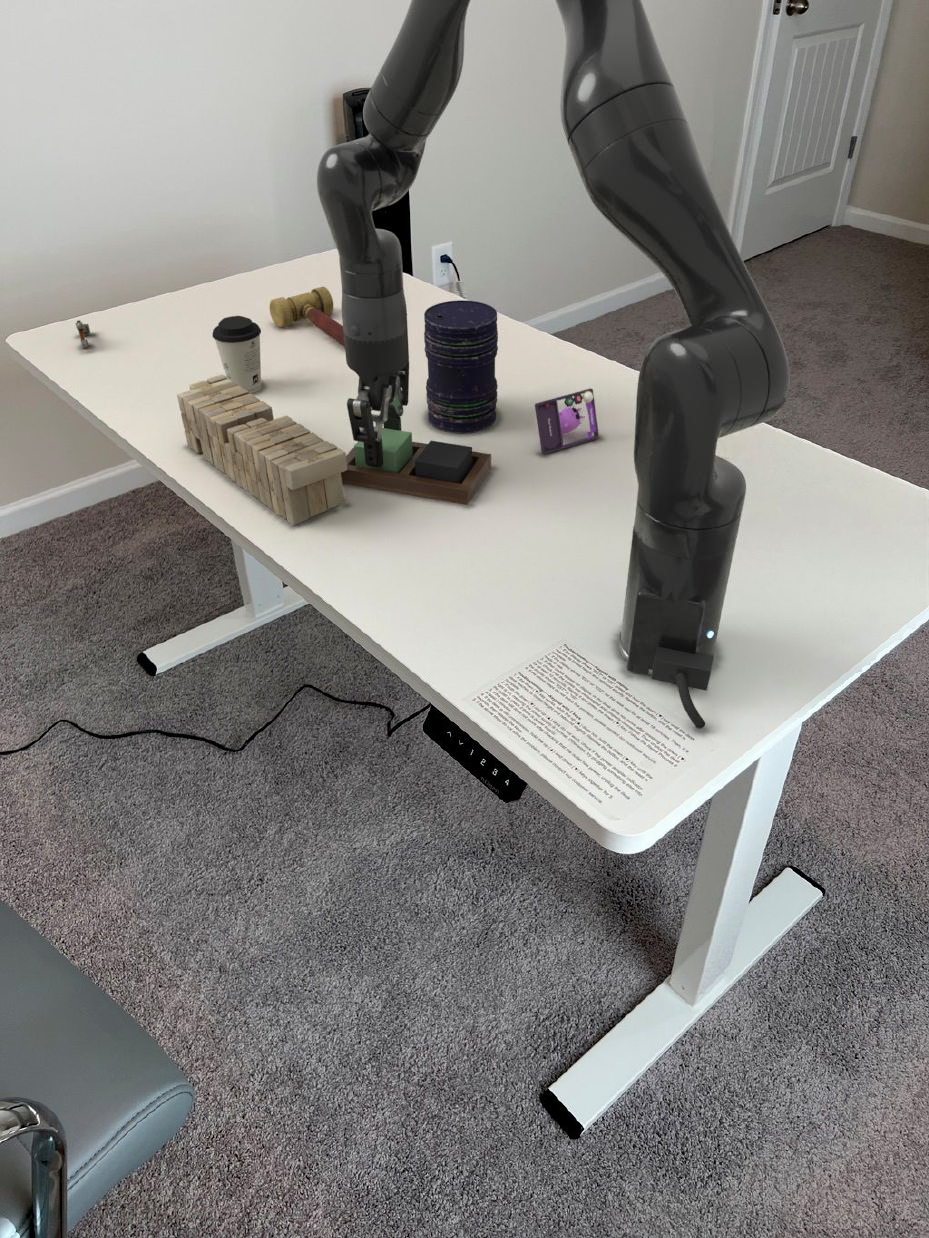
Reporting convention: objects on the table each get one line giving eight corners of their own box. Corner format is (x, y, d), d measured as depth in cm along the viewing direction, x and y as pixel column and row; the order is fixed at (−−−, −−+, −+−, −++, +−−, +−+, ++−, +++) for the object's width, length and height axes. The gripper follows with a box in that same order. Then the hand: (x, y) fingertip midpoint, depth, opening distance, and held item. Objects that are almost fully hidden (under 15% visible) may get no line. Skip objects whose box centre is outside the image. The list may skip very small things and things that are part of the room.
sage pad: (396, 475, 121) (395, 452, 119) (355, 468, 122) (353, 445, 120) (412, 454, 125) (411, 432, 123) (373, 447, 126) (371, 425, 124)
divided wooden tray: (467, 505, 118) (467, 490, 116) (336, 482, 122) (335, 467, 121) (491, 468, 124) (491, 454, 123) (366, 447, 129) (365, 433, 128)
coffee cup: (273, 393, 142) (264, 327, 136) (226, 401, 140) (215, 335, 134) (263, 374, 147) (254, 310, 141) (218, 382, 145) (206, 318, 139)
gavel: (387, 327, 153) (333, 343, 148) (388, 354, 156) (335, 370, 151) (319, 282, 165) (267, 295, 160) (321, 308, 168) (270, 321, 163)
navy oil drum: (484, 397, 141) (484, 296, 131) (507, 427, 133) (509, 322, 124) (418, 407, 138) (414, 305, 129) (438, 438, 131) (435, 332, 122)
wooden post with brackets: (78, 350, 153) (71, 320, 152) (83, 351, 161) (76, 323, 159) (90, 348, 154) (83, 319, 152) (94, 350, 161) (87, 322, 160)
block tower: (183, 448, 131) (297, 532, 113) (170, 390, 126) (287, 468, 108) (234, 430, 135) (352, 508, 117) (223, 373, 130) (345, 446, 112)
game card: (539, 404, 124) (596, 388, 127) (518, 402, 128) (573, 386, 132) (546, 455, 126) (602, 438, 130) (526, 451, 131) (580, 435, 134)
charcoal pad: (457, 490, 119) (457, 468, 117) (415, 483, 121) (414, 461, 119) (472, 469, 123) (472, 446, 121) (431, 462, 125) (430, 440, 123)
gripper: (380, 354, 106) (389, 486, 117) (427, 307, 117) (431, 432, 127) (319, 345, 108) (333, 476, 119) (370, 300, 119) (379, 424, 129)
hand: (384, 453), depth 123 cm, fingers closed on sage pad, 5 cm apart
